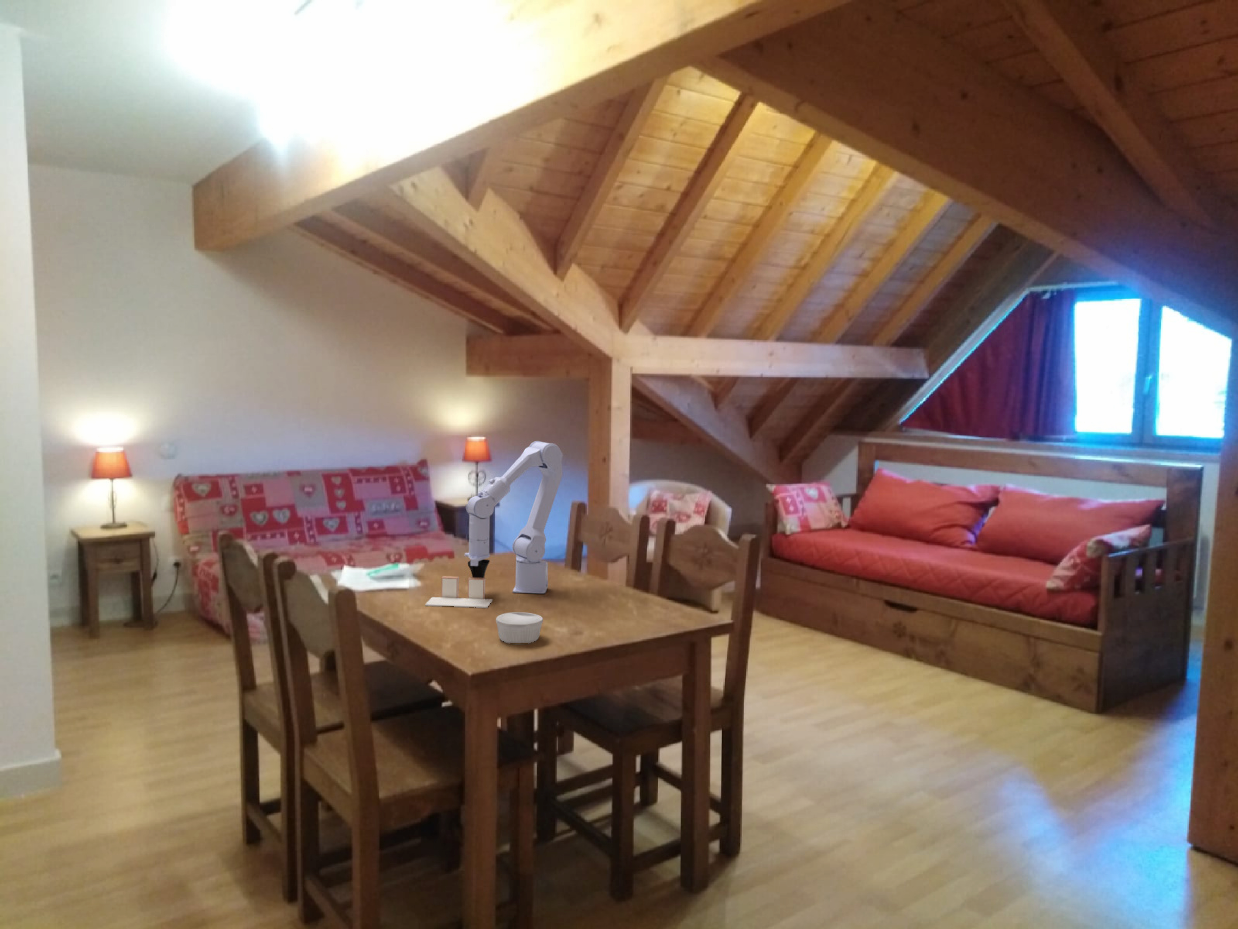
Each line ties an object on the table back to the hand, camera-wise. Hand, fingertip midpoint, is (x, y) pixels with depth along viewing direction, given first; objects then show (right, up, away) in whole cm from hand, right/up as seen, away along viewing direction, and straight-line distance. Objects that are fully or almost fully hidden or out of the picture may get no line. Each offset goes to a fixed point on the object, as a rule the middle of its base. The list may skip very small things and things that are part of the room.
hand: (478, 585), depth 253 cm
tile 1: (-8, -3, -3) cm, 9 cm away
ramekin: (+16, -8, -39) cm, 43 cm away
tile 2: (0, -3, -3) cm, 4 cm away
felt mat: (-4, -4, -8) cm, 10 cm away
